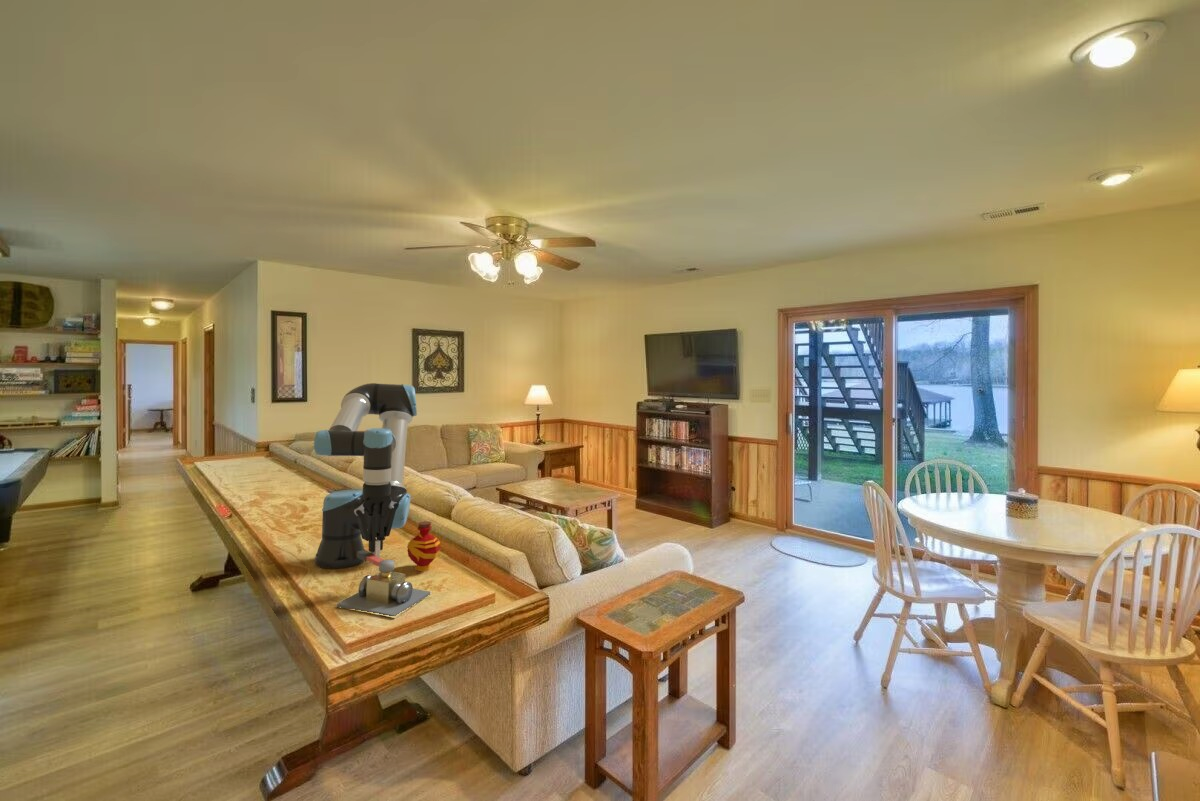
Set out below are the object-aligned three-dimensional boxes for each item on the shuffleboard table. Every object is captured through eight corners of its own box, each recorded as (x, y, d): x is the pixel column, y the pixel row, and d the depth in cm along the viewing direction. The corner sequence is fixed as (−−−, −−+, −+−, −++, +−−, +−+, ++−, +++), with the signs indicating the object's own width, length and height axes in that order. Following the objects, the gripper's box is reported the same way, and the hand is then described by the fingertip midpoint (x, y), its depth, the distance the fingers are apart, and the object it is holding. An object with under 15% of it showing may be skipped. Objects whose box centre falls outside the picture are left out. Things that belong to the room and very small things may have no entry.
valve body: (355, 601, 141) (356, 571, 141) (372, 591, 148) (373, 562, 148) (398, 609, 138) (400, 579, 137) (414, 599, 144) (416, 570, 144)
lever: (397, 569, 143) (397, 562, 143) (383, 573, 140) (384, 565, 140) (367, 555, 152) (367, 548, 152) (353, 558, 149) (354, 551, 149)
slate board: (336, 607, 137) (337, 603, 137) (377, 585, 153) (377, 582, 153) (394, 619, 133) (394, 615, 133) (430, 595, 148) (430, 591, 148)
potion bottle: (405, 563, 171) (407, 519, 170) (437, 561, 175) (439, 517, 175) (406, 575, 161) (408, 528, 161) (440, 572, 166) (443, 526, 165)
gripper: (391, 477, 155) (389, 553, 157) (348, 483, 145) (347, 564, 147) (404, 481, 151) (402, 559, 152) (361, 487, 141) (359, 571, 142)
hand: (375, 561), depth 149 cm, fingers closed
